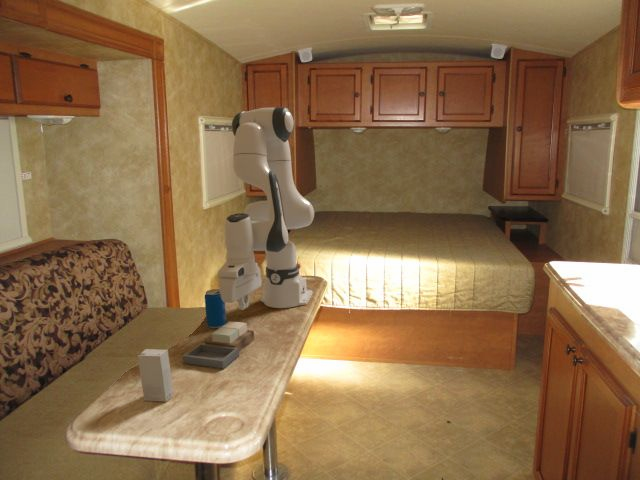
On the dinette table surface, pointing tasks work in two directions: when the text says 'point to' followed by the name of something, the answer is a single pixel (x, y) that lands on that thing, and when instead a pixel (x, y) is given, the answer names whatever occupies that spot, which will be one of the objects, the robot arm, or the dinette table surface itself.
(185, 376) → the dinette table surface
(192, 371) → the dinette table surface
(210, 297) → the beverage can
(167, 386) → the skincare box
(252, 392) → the dinette table surface
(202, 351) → the box
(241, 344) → the walnut plate
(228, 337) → the tile front
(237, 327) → the tile back
